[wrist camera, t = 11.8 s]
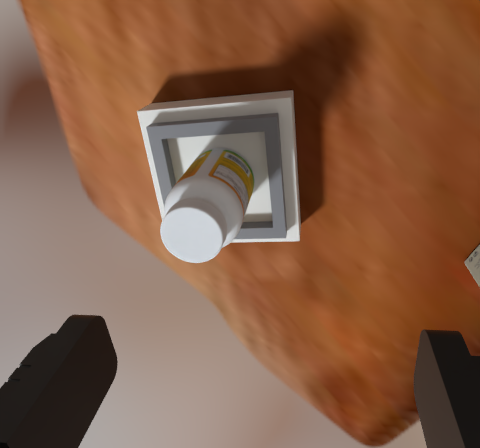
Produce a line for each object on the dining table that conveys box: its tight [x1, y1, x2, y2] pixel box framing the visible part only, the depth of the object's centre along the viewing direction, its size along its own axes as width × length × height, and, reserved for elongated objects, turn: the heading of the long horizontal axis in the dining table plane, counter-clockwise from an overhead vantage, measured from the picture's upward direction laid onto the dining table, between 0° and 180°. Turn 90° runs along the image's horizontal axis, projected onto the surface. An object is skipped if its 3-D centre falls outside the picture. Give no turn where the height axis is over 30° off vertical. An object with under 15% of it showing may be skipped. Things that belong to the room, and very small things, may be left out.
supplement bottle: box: [160, 148, 255, 263], centre depth 29 cm, size 5×5×10 cm
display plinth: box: [137, 90, 301, 242], centre depth 34 cm, size 12×12×4 cm
